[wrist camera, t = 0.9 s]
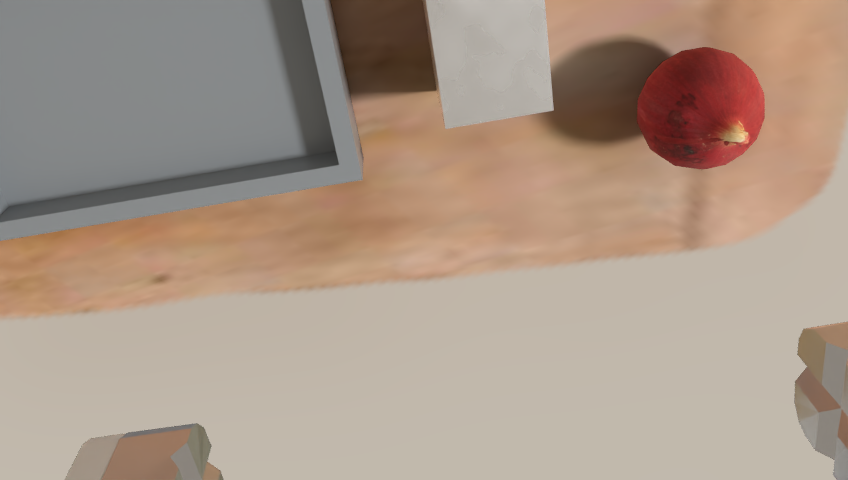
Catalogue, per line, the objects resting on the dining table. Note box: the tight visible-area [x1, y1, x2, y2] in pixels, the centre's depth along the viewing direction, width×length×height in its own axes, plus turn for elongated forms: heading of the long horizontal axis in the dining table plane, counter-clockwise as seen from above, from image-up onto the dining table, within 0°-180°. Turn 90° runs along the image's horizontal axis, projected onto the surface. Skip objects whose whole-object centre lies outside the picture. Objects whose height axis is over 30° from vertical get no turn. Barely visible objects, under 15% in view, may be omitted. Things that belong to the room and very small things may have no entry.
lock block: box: [423, 0, 554, 129], centre depth 36 cm, size 8×5×6 cm, turn 9°
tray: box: [0, 0, 363, 241], centre depth 38 cm, size 14×20×3 cm
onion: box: [637, 47, 764, 169], centre depth 38 cm, size 6×6×8 cm
